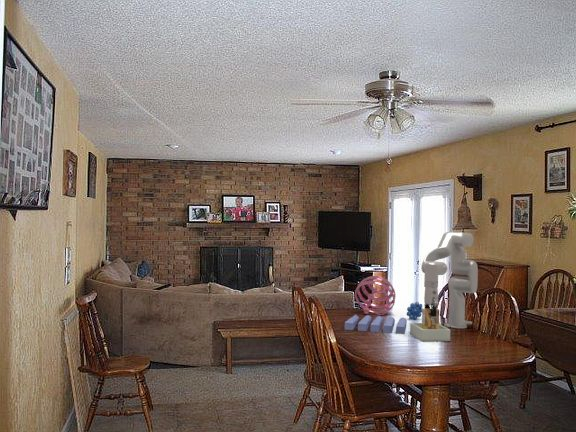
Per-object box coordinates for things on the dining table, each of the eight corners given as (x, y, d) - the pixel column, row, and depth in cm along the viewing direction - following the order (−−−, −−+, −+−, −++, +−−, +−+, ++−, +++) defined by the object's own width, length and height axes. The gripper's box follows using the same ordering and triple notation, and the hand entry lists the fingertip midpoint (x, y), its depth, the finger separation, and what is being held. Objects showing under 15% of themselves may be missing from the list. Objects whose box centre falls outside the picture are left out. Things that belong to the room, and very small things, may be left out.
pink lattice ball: (381, 290, 371) (389, 265, 392) (344, 296, 386) (353, 271, 407) (397, 321, 382) (404, 295, 403) (360, 326, 396) (369, 301, 417)
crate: (436, 334, 329) (437, 323, 329) (450, 341, 309) (450, 329, 309) (410, 334, 328) (410, 322, 328) (421, 341, 308) (422, 329, 308)
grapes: (420, 318, 383) (421, 300, 383) (424, 320, 376) (424, 302, 376) (404, 318, 381) (404, 300, 381) (407, 320, 374) (408, 302, 374)
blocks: (344, 330, 335) (344, 322, 335) (352, 320, 369) (352, 313, 369) (404, 335, 327) (404, 326, 327) (406, 324, 360) (407, 317, 360)
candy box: (434, 335, 322) (435, 308, 322) (438, 336, 317) (439, 309, 318) (421, 335, 319) (421, 308, 319) (424, 337, 315) (425, 309, 315)
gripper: (443, 286, 311) (442, 317, 310) (432, 282, 328) (431, 312, 328) (430, 286, 310) (429, 317, 310) (419, 282, 327) (418, 312, 327)
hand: (430, 314), depth 319 cm, fingers open, 9 cm apart
